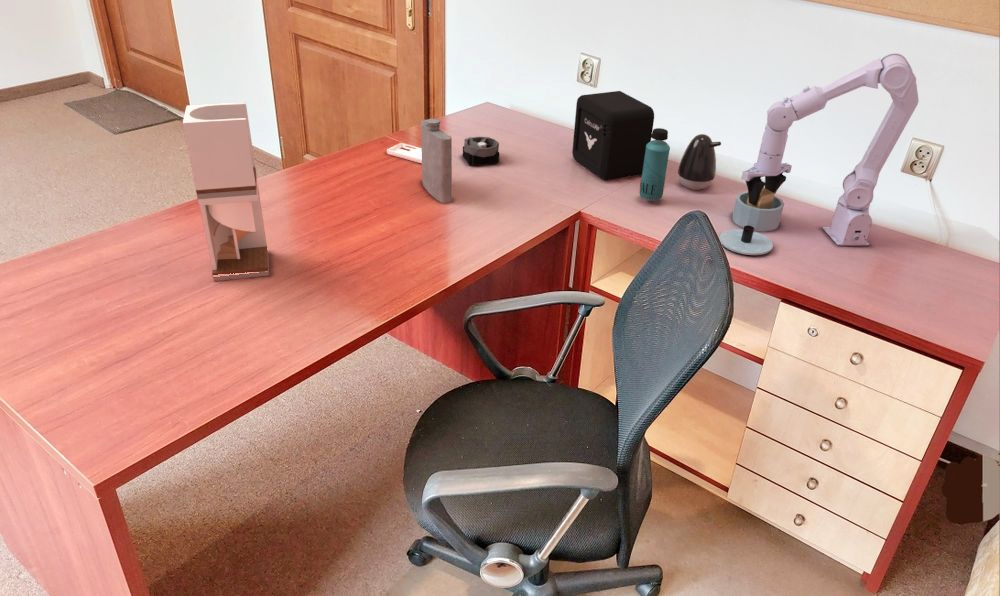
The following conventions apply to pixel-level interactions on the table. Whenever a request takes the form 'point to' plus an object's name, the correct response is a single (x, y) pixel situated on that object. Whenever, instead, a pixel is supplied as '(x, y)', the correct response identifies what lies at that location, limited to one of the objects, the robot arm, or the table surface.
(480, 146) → the cpu cooler
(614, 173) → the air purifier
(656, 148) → the beverage bottle
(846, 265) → the table surface
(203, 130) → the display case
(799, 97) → the robot arm
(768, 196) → the block
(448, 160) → the hip flask
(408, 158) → the phone case
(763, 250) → the lid
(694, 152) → the pump dispenser
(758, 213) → the tin
